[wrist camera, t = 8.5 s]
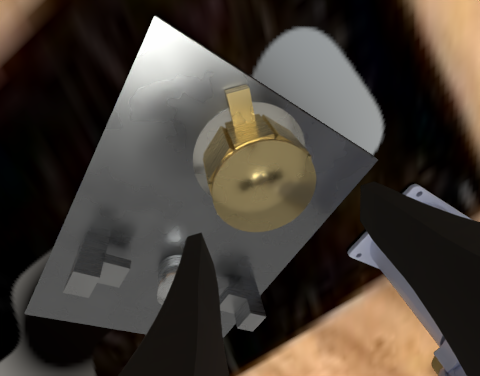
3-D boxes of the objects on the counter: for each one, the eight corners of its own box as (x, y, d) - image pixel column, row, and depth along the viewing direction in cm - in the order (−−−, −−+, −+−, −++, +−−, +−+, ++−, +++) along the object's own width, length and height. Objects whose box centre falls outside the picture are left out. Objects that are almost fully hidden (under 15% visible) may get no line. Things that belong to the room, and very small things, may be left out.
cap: (299, 204, 21) (320, 238, 18) (224, 226, 21) (232, 264, 18) (284, 73, 16) (310, 91, 13) (184, 100, 16) (187, 124, 13)
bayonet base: (370, 153, 21) (410, 185, 18) (214, 336, 29) (220, 383, 26) (155, 14, 14) (150, 20, 11) (29, 302, 23) (3, 359, 19)
